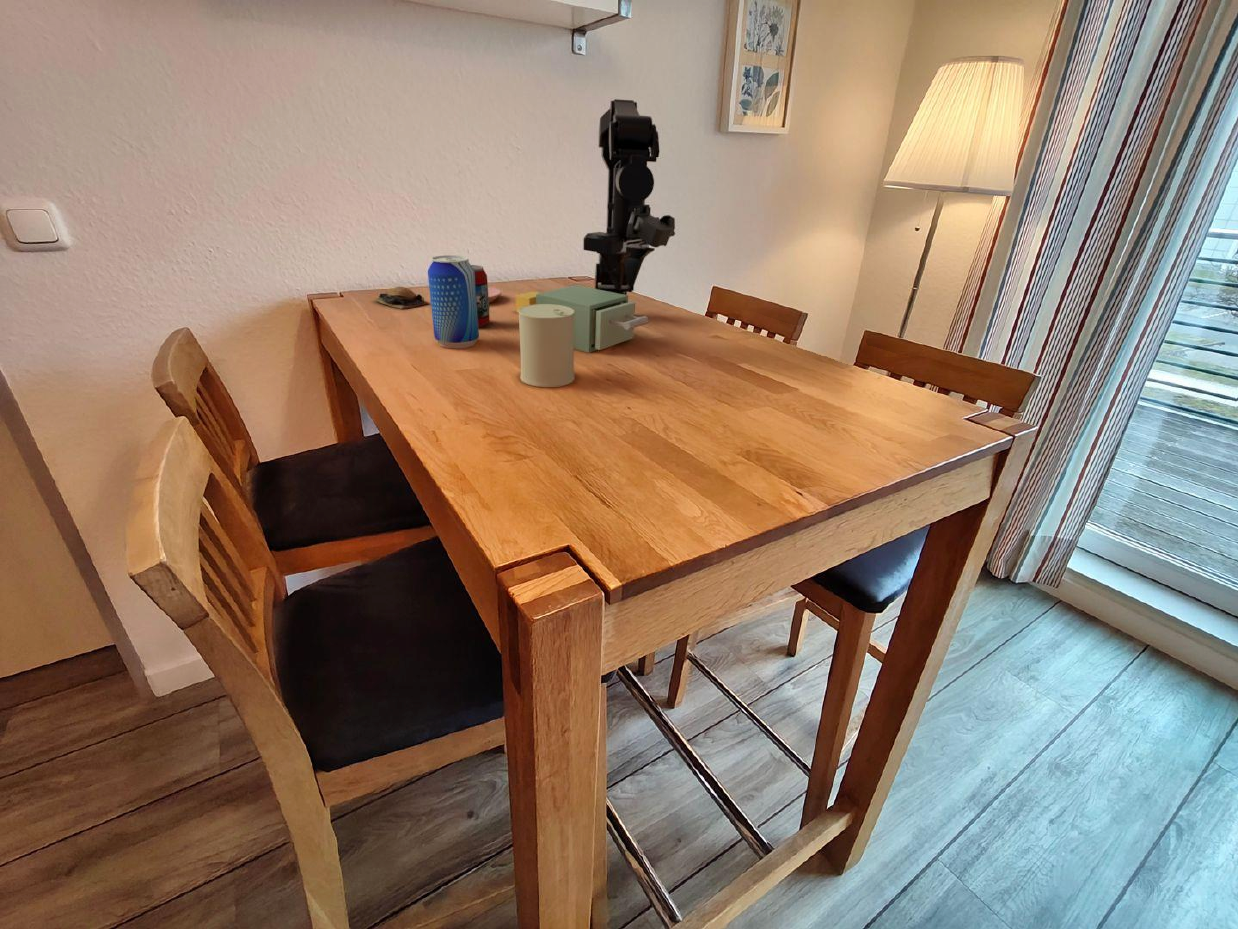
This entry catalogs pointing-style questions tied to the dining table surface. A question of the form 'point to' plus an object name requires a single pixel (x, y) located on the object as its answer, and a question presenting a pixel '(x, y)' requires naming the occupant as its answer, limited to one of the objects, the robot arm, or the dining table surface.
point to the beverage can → (481, 295)
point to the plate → (493, 293)
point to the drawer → (614, 324)
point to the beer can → (453, 301)
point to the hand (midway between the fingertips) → (624, 287)
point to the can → (547, 345)
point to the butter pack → (525, 300)
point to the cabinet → (581, 309)
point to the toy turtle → (401, 298)
